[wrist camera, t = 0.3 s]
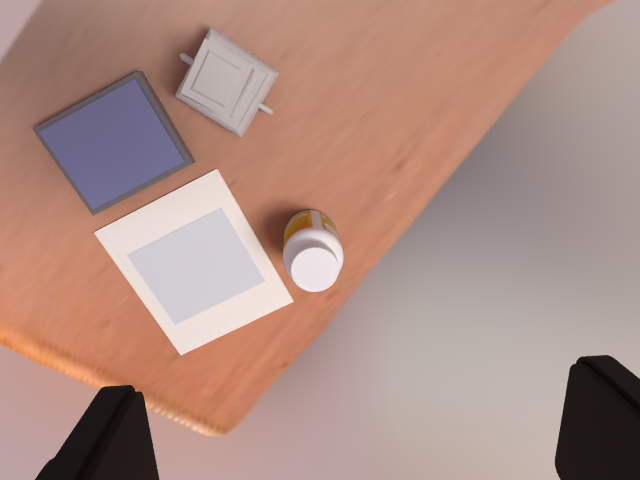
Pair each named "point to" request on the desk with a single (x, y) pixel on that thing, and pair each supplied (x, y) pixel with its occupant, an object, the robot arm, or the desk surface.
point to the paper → (195, 263)
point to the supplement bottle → (312, 250)
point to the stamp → (226, 82)
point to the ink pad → (115, 143)
